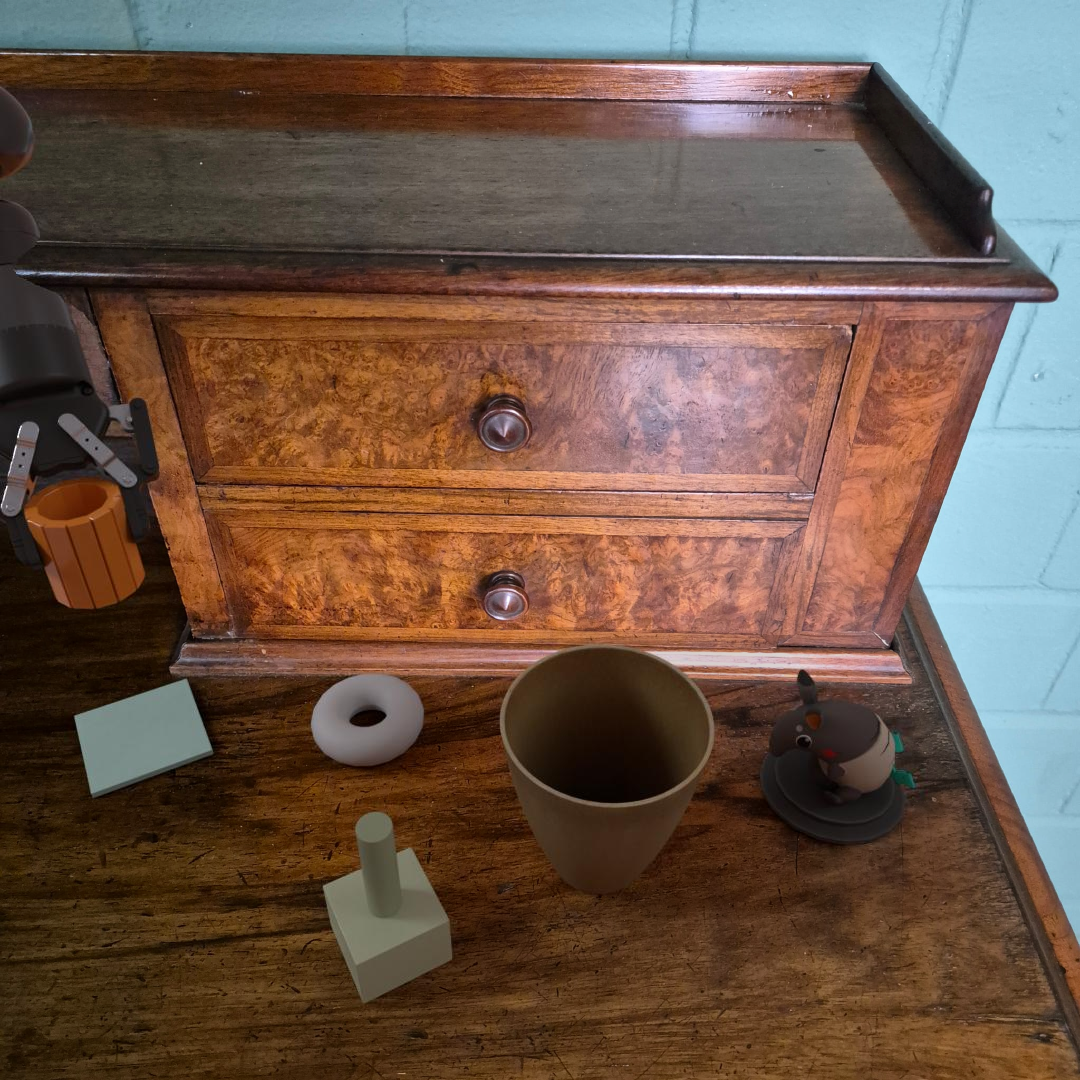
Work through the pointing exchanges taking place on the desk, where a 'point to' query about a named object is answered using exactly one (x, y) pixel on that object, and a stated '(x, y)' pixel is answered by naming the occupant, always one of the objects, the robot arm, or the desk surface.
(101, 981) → the desk surface
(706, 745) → the plant pot
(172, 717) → the mat
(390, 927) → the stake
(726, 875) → the desk surface
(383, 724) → the donut
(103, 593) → the pen holder
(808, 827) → the figurine
